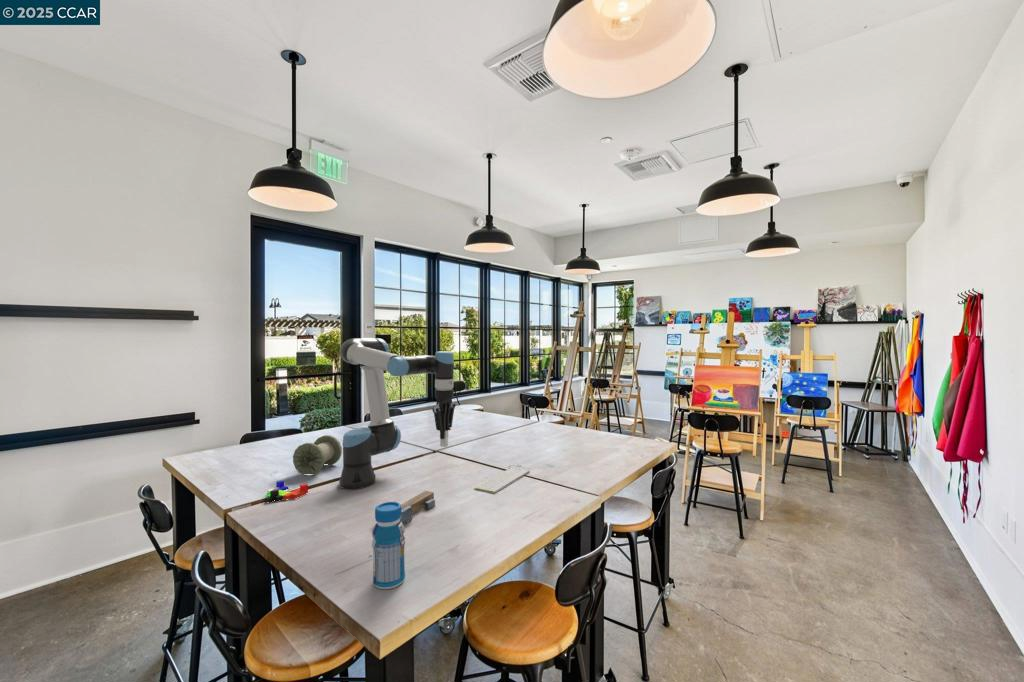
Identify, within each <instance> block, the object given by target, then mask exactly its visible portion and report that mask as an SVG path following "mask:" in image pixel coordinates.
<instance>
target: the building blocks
mask: <svg viewBox="0 0 1024 682" xmlns="http://www.w3.org/2000/svg"><path fill="white" fill-rule="evenodd" d="M275 485H276V486H274V487H273V488H271V489H267V492H266V495H265V496H266V498H265V503H266V502H269V503H268V504H271V503H270V502H272V501H274V500H275V501H274V502H276V501H279V500H282V499H290V498H297V497H299V498H301V497H300V496H302V495H304V494H306V493H308V494H309V487H308V486H309V484H308V483H302V484H300V485H299V488H297V489H295V490H292V491H289V486H287V485H285V480H282V479H281V480H277V481H276V482H275ZM286 489H288V491H284V490H286ZM306 495H307V494H306ZM304 496H305V495H304ZM302 497H303V496H302ZM297 499H298V498H297ZM290 500H291V499H290ZM282 501H283V500H282ZM279 502H280V501H279ZM272 503H273V502H272Z"/></svg>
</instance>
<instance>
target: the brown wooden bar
mask: <svg viewBox="0 0 1024 682" xmlns="http://www.w3.org/2000/svg"><path fill="white" fill-rule="evenodd" d="M434 498H435V493H434V491H430V490H424V491H422V492H420V493H419V494H417V495H414V496H413V497H411V498H410V499H408V500H406V501H405V502H402V503H400V504H401V507H402V509H404V508H406V507H408V506H411V507H412V516H413V515H415V514H416V513H418V512H419V511H421V510H422V509H425V502H427V501H429V500H430V499H434Z"/></svg>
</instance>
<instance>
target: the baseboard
mask: <svg viewBox="0 0 1024 682" xmlns="http://www.w3.org/2000/svg"><path fill="white" fill-rule="evenodd" d="M511 466H512V467H511ZM518 467H519V468H518ZM507 468H508V469H506V470H504V471H502V472H501V473H499V474H497V475H495V476H493V477H492V478H490V479H488V480H486V481H485V482H482V483H481V484H479V485H477V486H476V487H474V488H473V490H475V491H476V490H477V491H480V492H485V493H489V494H497V493H498V492H499V490H500V491H501V490H503V489H505V488H507V487H508V486H509V485H510V484H512V483H514V482H515V481H517V480H519V479H521V478H522V477H524V476H526V475H528V474H529V473H530V470H529V469H530V468H529V467H528V468H527V469H524V467H522V465H516V467H515V466H513V465H511V464H510V465H509V466H508V467H507Z"/></svg>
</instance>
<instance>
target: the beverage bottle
mask: <svg viewBox="0 0 1024 682" xmlns="http://www.w3.org/2000/svg"><path fill="white" fill-rule="evenodd" d="M401 504H402V503H400V502H398V501H386V502H383V503H379V504H377V505H376V506H375V509H374V519H375V522H376V524H375V525H374V527H373V530H372V537H373V539H372V542H371V548H372V562H373V563H372V566H373V569H372V571H373V572H372V573H373V576H372V583H373V586H374V587H376V588H377V589H379V590H391V589H394V588H396V587H398V586H400V585H402V583H404V581H405V579H406V569H405V544H406V537H405V535H404V533H405V531H406V530H405V525H404V524H403V523H402V522H401V520H400V518H401V515H402V507H401Z"/></svg>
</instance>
